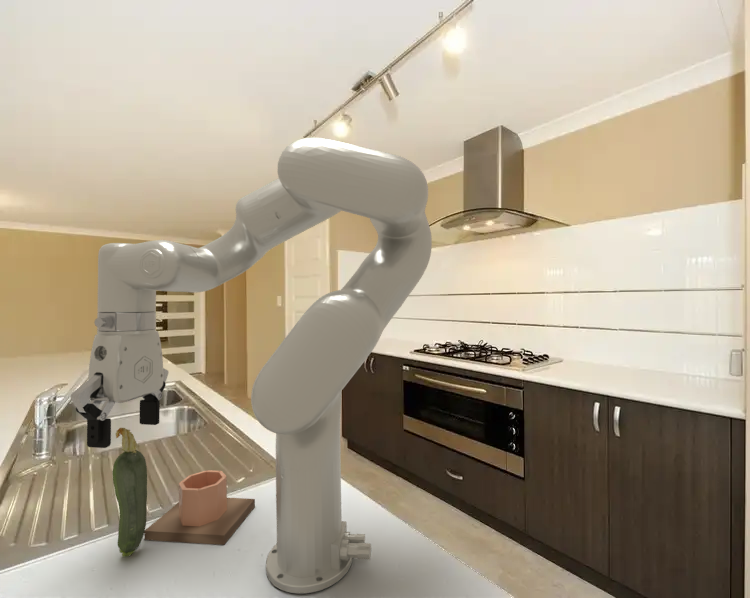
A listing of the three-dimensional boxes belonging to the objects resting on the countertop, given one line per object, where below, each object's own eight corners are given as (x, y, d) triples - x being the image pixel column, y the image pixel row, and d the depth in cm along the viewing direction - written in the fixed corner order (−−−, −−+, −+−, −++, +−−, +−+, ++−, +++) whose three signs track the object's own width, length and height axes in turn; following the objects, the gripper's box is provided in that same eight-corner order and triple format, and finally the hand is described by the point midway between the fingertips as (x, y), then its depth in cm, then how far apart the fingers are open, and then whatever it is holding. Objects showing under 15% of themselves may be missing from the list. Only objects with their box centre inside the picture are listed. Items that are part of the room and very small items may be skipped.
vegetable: (153, 547, 58) (152, 421, 58) (136, 566, 54) (135, 431, 54) (125, 548, 58) (124, 422, 58) (106, 567, 54) (104, 432, 54)
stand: (254, 506, 69) (254, 498, 69) (224, 544, 58) (224, 535, 58) (186, 503, 71) (186, 495, 71) (144, 539, 60) (144, 530, 60)
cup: (232, 503, 68) (232, 471, 68) (210, 527, 61) (210, 490, 61) (196, 501, 69) (196, 469, 69) (171, 524, 61) (170, 489, 62)
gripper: (101, 327, 47) (99, 459, 47) (185, 321, 65) (184, 418, 64) (50, 327, 48) (48, 456, 48) (146, 321, 65) (145, 416, 65)
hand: (126, 434), depth 56 cm, fingers open, 9 cm apart
